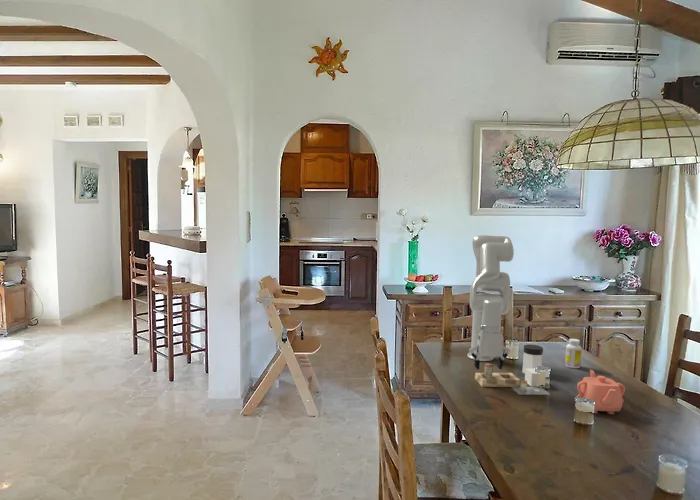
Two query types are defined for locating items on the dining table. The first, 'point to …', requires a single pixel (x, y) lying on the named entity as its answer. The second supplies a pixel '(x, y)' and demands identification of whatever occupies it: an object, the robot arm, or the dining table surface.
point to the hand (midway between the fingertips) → (488, 368)
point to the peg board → (498, 380)
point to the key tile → (529, 389)
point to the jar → (532, 357)
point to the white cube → (531, 377)
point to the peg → (488, 371)
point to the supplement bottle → (573, 354)
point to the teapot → (602, 392)
